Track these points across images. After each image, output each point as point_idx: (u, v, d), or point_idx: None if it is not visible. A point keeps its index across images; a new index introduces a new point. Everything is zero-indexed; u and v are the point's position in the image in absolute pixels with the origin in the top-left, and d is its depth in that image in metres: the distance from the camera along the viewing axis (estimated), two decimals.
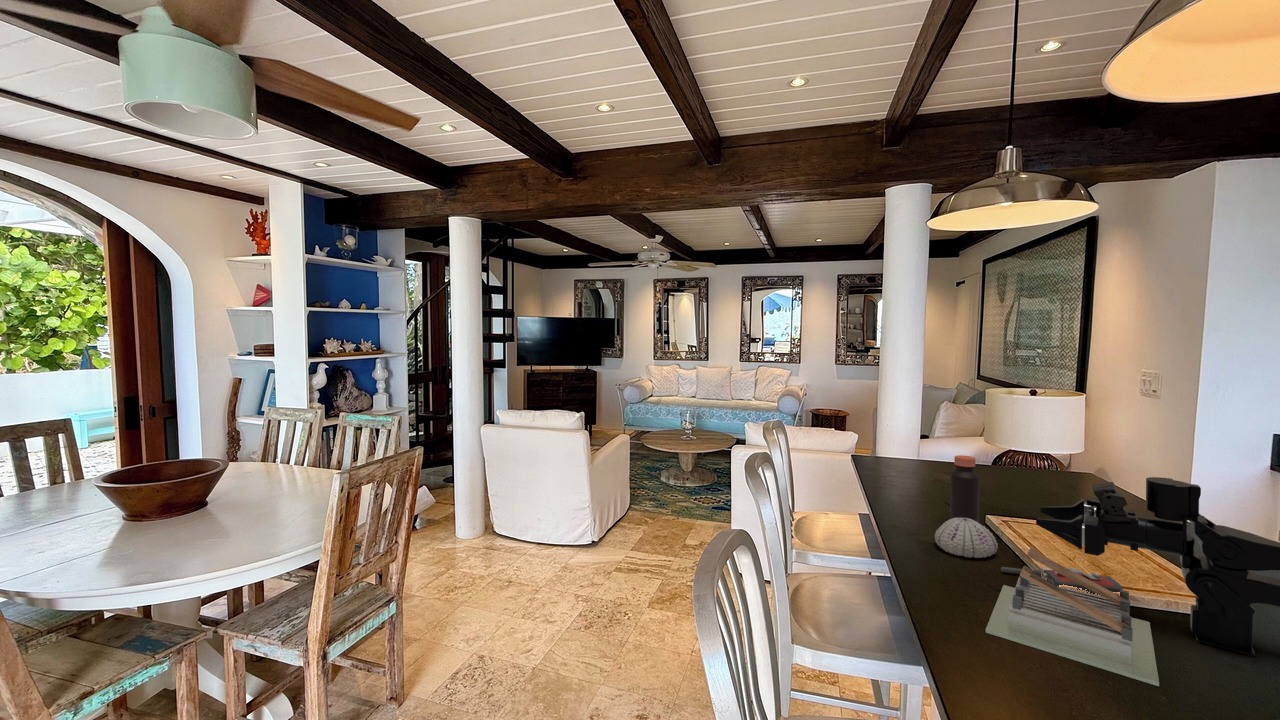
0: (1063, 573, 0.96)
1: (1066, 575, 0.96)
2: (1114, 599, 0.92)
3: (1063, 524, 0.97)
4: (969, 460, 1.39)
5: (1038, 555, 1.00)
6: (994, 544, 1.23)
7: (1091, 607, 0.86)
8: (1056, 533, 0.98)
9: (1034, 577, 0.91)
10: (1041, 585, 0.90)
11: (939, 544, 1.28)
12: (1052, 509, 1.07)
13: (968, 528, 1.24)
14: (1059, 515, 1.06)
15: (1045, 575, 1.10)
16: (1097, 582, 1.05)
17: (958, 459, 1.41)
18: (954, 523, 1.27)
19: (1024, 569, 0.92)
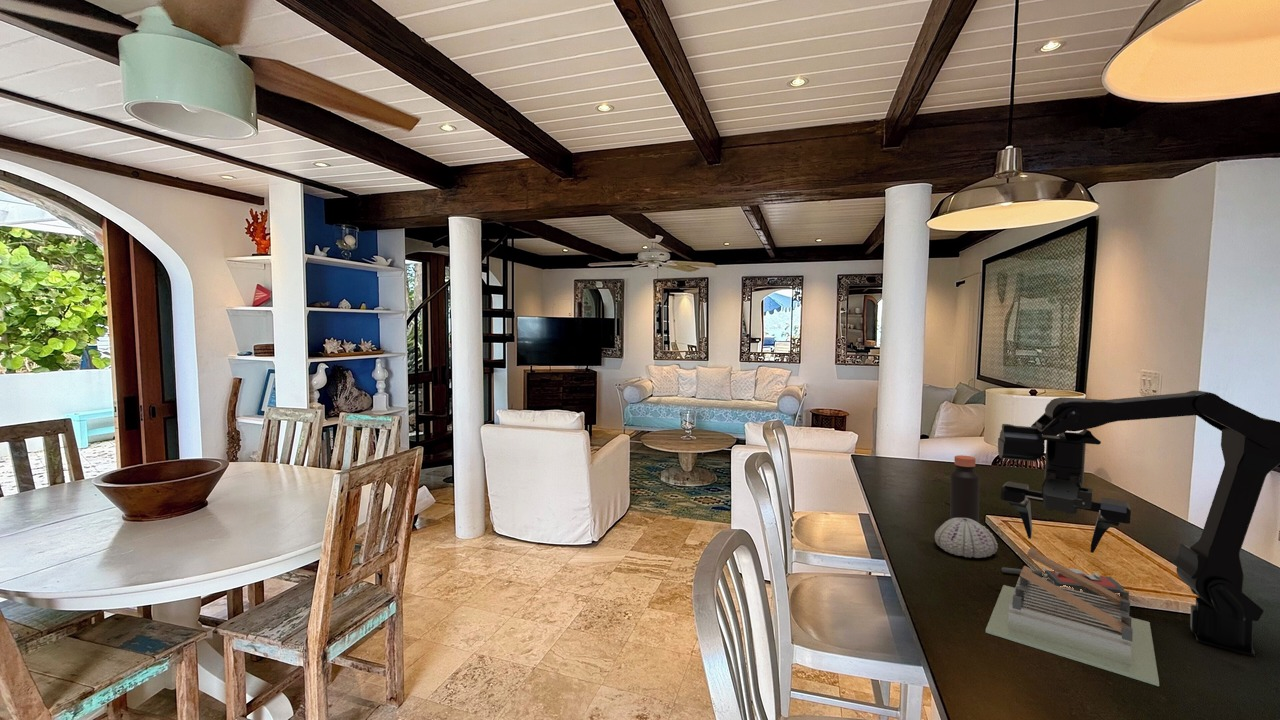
0: (1063, 573, 0.96)
1: (1066, 575, 0.96)
2: (1114, 599, 0.92)
3: None
4: (969, 460, 1.39)
5: (1038, 555, 1.00)
6: (993, 543, 1.23)
7: (1091, 607, 0.86)
8: None
9: (1034, 577, 0.91)
10: (1041, 585, 0.90)
11: (939, 544, 1.28)
12: (1030, 528, 1.00)
13: (968, 528, 1.24)
14: (1030, 521, 1.01)
15: (1046, 576, 1.10)
16: (1098, 583, 1.04)
17: (958, 459, 1.41)
18: (954, 523, 1.27)
19: (1024, 569, 0.92)
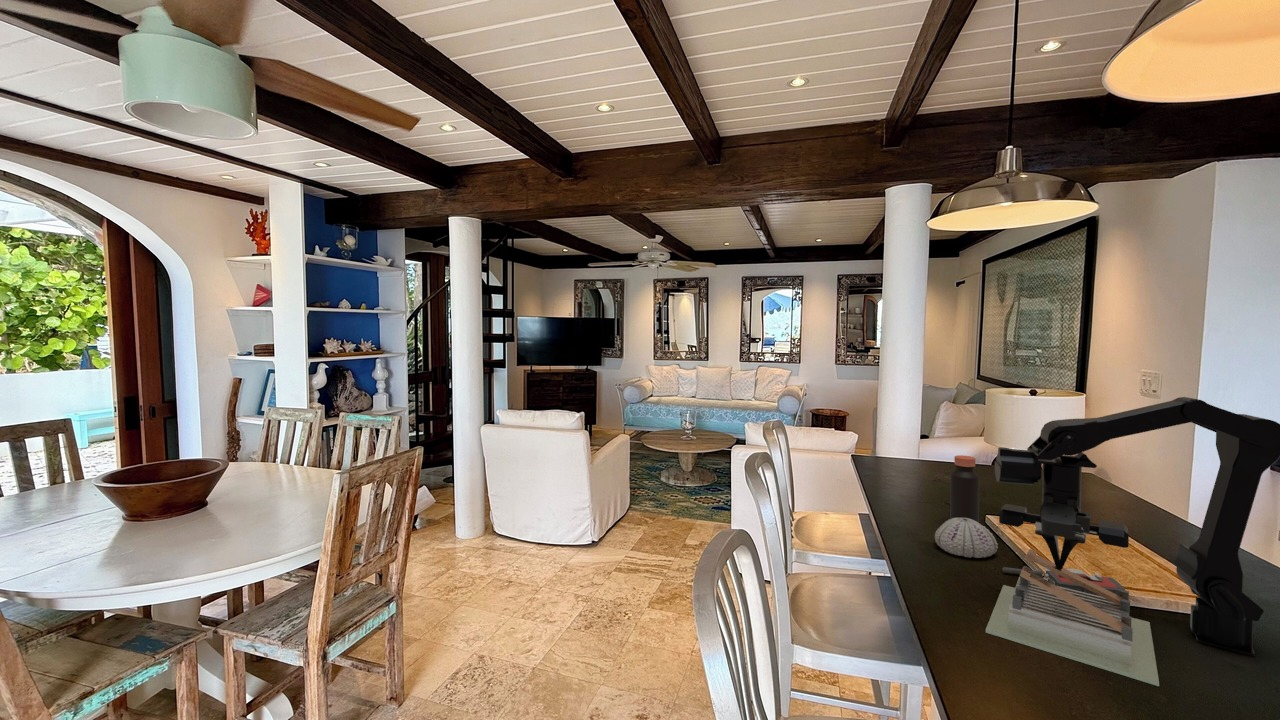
0: (1063, 574, 0.96)
1: (1065, 576, 0.96)
2: (1114, 599, 0.92)
3: None
4: (969, 460, 1.39)
5: (1036, 557, 1.00)
6: (994, 544, 1.23)
7: (1091, 607, 0.86)
8: None
9: (1034, 577, 0.91)
10: (1041, 585, 0.90)
11: (939, 544, 1.28)
12: (1058, 558, 0.97)
13: (968, 528, 1.24)
14: (1058, 550, 0.98)
15: (1047, 576, 1.09)
16: (1099, 583, 1.04)
17: (958, 459, 1.41)
18: (954, 523, 1.27)
19: (1024, 569, 0.92)
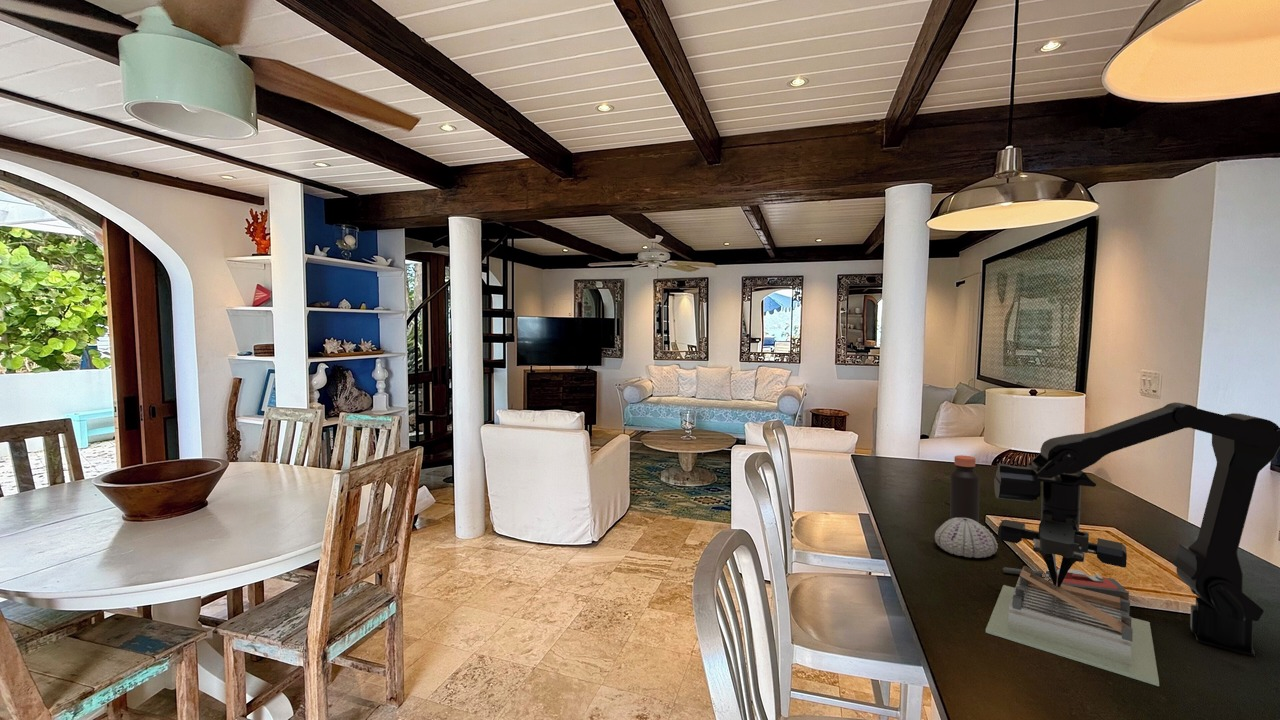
0: None
1: None
2: (1113, 602, 0.92)
3: None
4: (969, 460, 1.39)
5: None
6: (994, 544, 1.23)
7: (1091, 607, 0.86)
8: None
9: (1034, 577, 0.91)
10: (1041, 585, 0.90)
11: (939, 544, 1.28)
12: (1056, 575, 0.98)
13: (968, 528, 1.24)
14: (1055, 567, 0.99)
15: (1047, 576, 1.09)
16: (1100, 584, 1.04)
17: (958, 459, 1.41)
18: (954, 523, 1.27)
19: (1024, 569, 0.92)
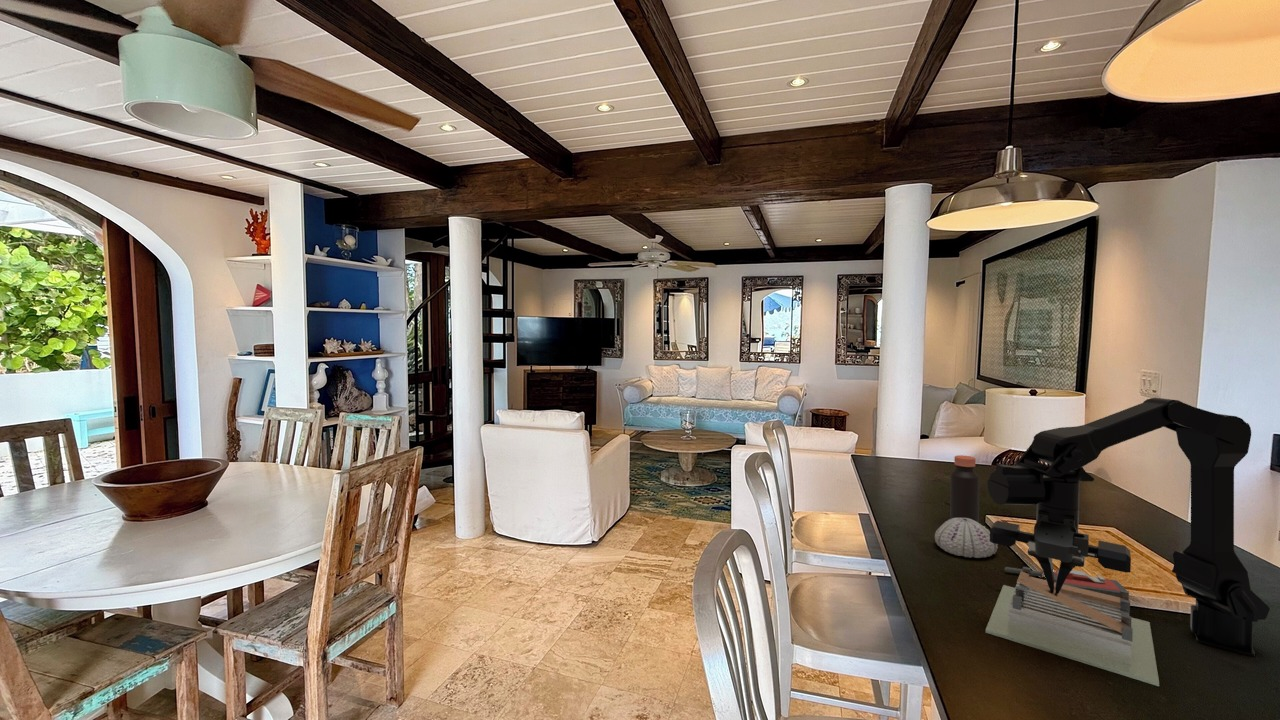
0: None
1: (1062, 591, 0.97)
2: (1113, 602, 0.92)
3: None
4: (969, 460, 1.39)
5: None
6: (993, 544, 1.23)
7: (1089, 609, 0.87)
8: None
9: (1031, 582, 0.91)
10: (1039, 590, 0.90)
11: (939, 544, 1.28)
12: (1053, 581, 0.89)
13: (968, 528, 1.24)
14: (1053, 572, 0.90)
15: None
16: (1101, 585, 1.03)
17: (958, 459, 1.41)
18: (954, 523, 1.27)
19: (1021, 574, 0.92)
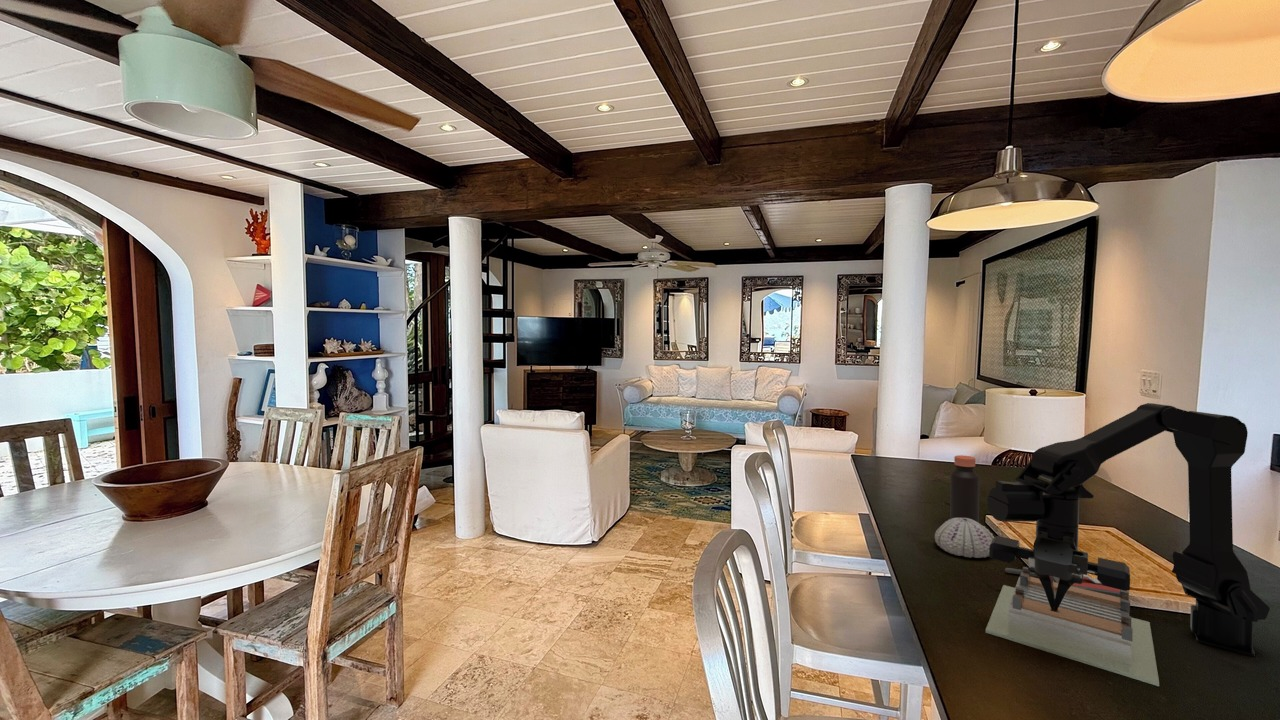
0: None
1: None
2: (1113, 602, 0.92)
3: None
4: (969, 460, 1.39)
5: (1030, 579, 1.01)
6: None
7: (1086, 616, 0.87)
8: None
9: (1026, 602, 0.92)
10: (1035, 608, 0.91)
11: (939, 544, 1.28)
12: (1053, 598, 0.89)
13: (968, 528, 1.24)
14: (1053, 589, 0.90)
15: None
16: (1101, 586, 1.03)
17: (958, 459, 1.41)
18: (954, 523, 1.27)
19: None
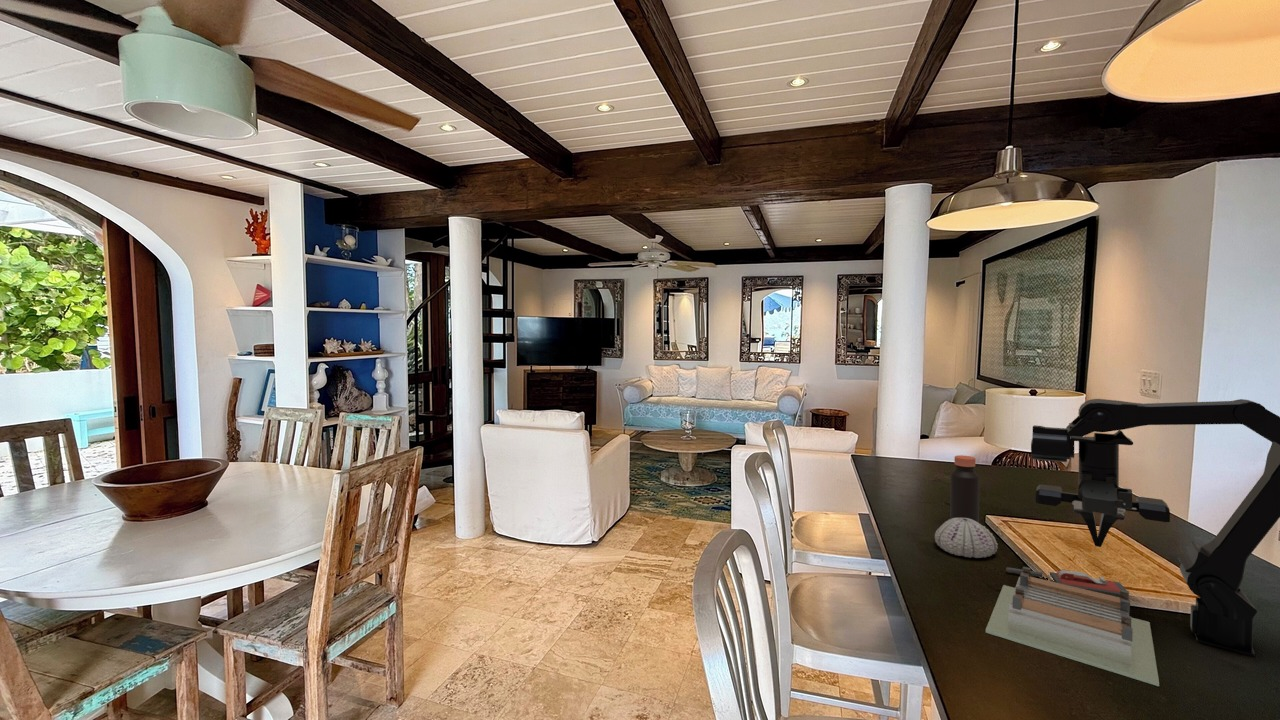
0: (1058, 589, 0.97)
1: (1062, 591, 0.97)
2: (1113, 602, 0.92)
3: None
4: (969, 460, 1.39)
5: (1030, 579, 1.01)
6: (994, 544, 1.23)
7: (1086, 616, 0.87)
8: None
9: (1026, 602, 0.92)
10: (1035, 608, 0.91)
11: (939, 544, 1.28)
12: (1097, 536, 0.98)
13: (968, 528, 1.24)
14: None
15: None
16: (1102, 587, 1.03)
17: (958, 459, 1.41)
18: (954, 523, 1.27)
19: None
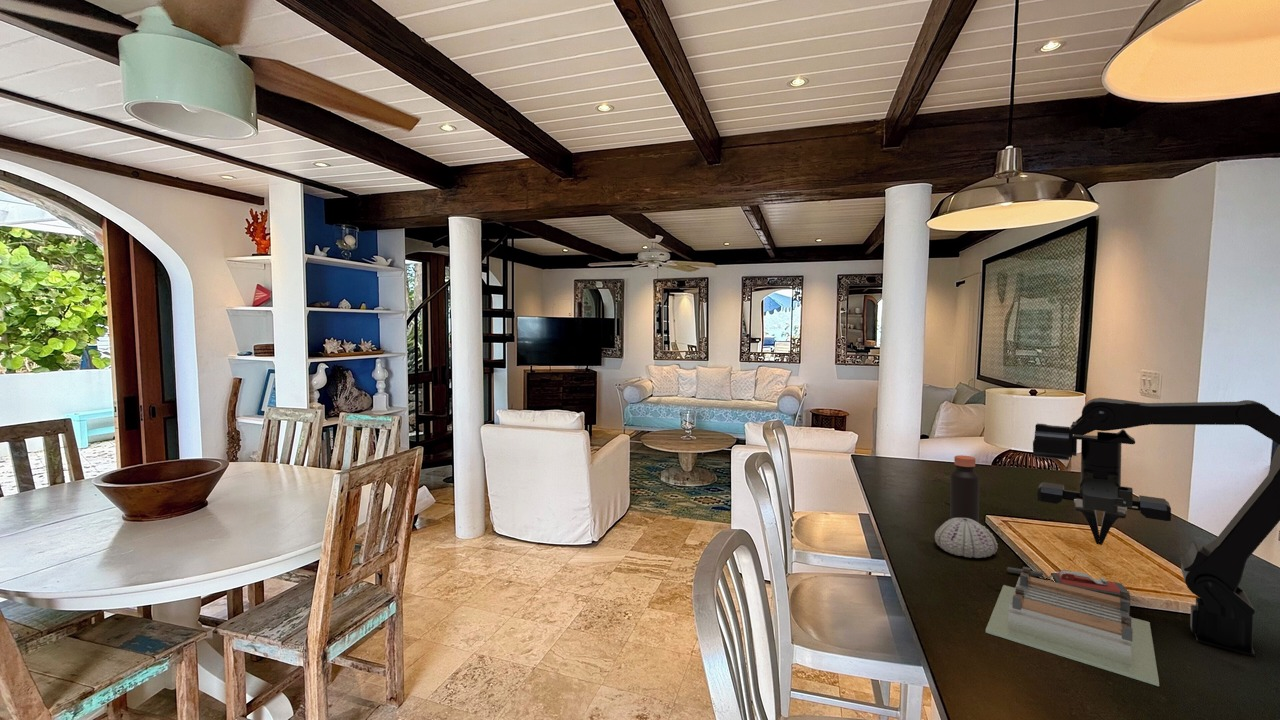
0: (1058, 589, 0.97)
1: (1062, 591, 0.97)
2: (1113, 602, 0.92)
3: None
4: (969, 460, 1.39)
5: (1030, 579, 1.01)
6: (993, 544, 1.23)
7: (1086, 616, 0.87)
8: None
9: (1026, 602, 0.92)
10: (1035, 608, 0.91)
11: (939, 544, 1.28)
12: (1098, 534, 0.98)
13: (968, 528, 1.24)
14: None
15: (1050, 577, 1.09)
16: (1103, 587, 1.02)
17: (958, 459, 1.41)
18: (954, 523, 1.27)
19: None
